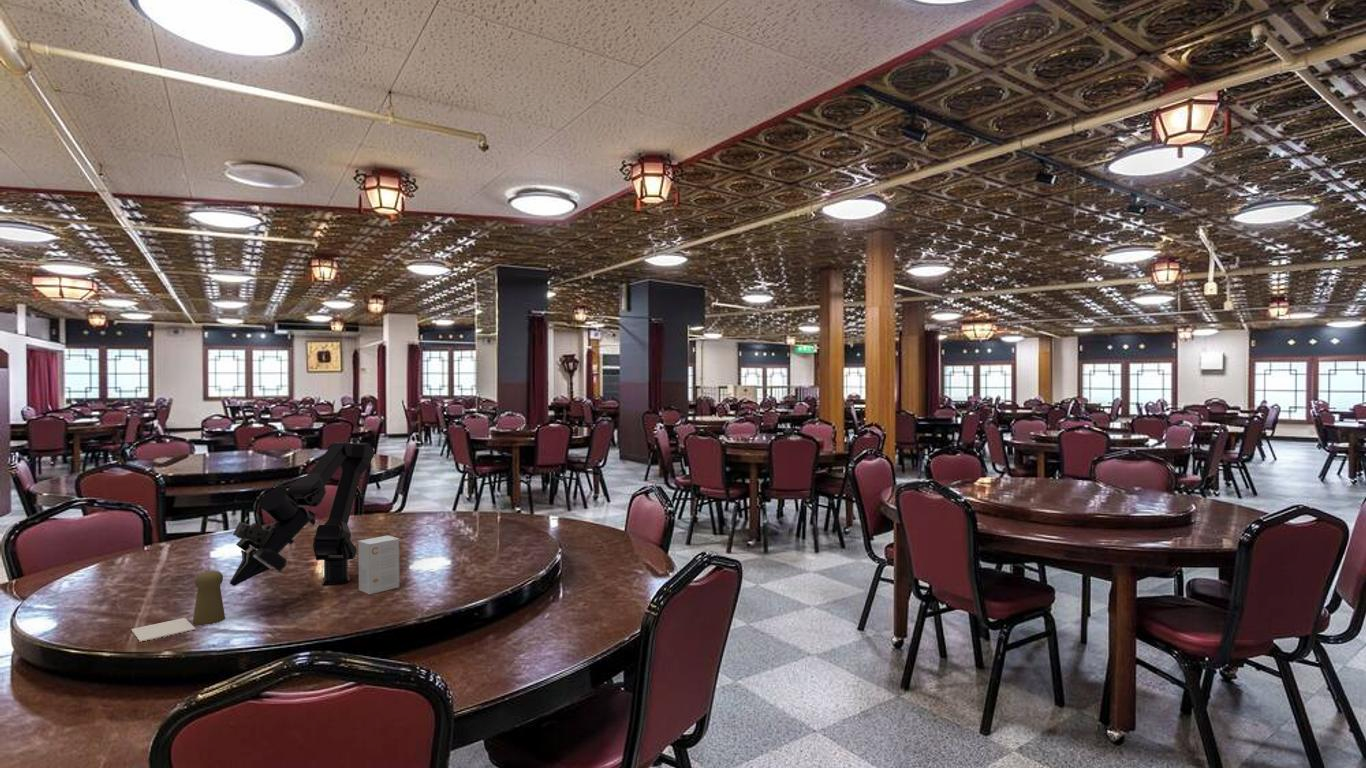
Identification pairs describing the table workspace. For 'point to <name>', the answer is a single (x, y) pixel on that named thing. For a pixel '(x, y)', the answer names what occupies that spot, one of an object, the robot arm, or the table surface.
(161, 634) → the mat
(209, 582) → the cork
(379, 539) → the small box
